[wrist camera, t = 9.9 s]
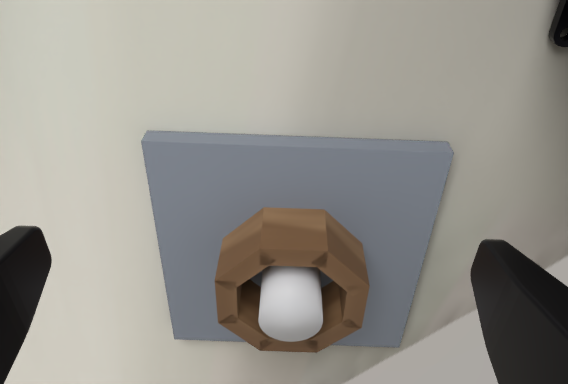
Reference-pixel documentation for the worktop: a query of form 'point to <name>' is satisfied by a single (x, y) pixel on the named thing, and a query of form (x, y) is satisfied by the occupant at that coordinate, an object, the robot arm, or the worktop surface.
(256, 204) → the post plate
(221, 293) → the walnut ring
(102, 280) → the worktop surface
